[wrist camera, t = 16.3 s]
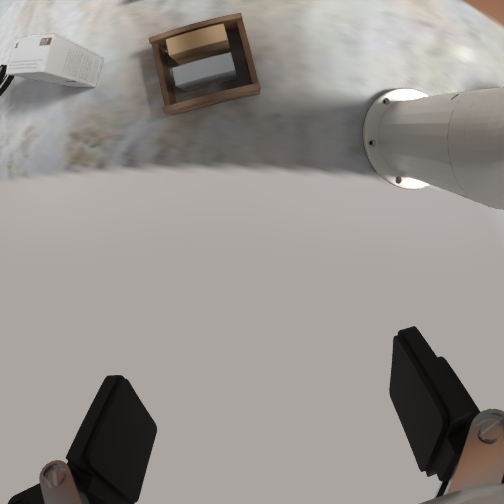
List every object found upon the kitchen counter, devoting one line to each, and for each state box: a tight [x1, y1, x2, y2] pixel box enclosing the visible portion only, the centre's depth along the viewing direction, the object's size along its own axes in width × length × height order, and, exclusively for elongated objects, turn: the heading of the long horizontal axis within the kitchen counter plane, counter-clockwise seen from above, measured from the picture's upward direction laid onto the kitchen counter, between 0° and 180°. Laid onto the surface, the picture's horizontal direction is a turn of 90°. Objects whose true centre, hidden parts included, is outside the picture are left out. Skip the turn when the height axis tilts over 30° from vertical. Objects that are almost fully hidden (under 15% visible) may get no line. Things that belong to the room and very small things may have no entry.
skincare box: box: [6, 34, 104, 87], centre depth 24 cm, size 6×4×12 cm
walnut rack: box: [149, 13, 260, 115], centre depth 27 cm, size 10×18×4 cm, turn 12°
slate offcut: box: [172, 53, 238, 92], centre depth 28 cm, size 6×2×5 cm, turn 102°
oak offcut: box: [166, 24, 231, 66], centre depth 27 cm, size 6×2×5 cm, turn 102°
